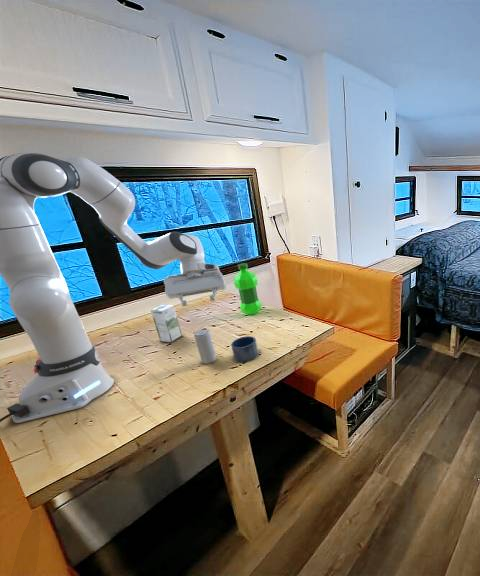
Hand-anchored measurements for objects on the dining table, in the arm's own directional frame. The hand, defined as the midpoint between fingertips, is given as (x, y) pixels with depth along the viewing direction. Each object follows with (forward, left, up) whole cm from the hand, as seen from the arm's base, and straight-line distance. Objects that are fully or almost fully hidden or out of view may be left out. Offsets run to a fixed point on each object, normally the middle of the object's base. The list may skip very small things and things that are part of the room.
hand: (199, 303), depth 116 cm
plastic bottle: (+21, +23, -19) cm, 37 cm away
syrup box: (-13, +17, -19) cm, 28 cm away
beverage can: (-2, -12, -19) cm, 22 cm away
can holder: (+10, -17, -19) cm, 27 cm away
